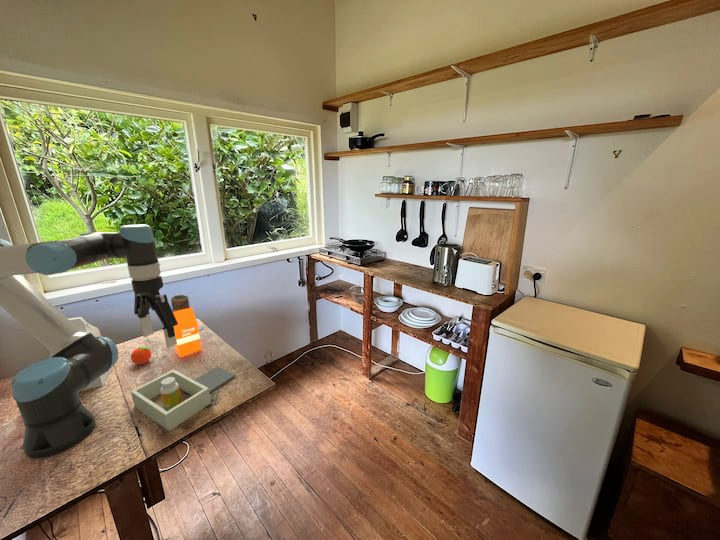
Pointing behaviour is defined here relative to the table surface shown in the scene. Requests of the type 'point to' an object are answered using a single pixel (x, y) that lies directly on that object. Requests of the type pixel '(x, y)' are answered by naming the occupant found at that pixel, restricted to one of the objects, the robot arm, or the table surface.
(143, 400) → the open box
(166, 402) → the supplement bottle
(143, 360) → the clementine
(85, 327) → the milk
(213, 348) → the table surface
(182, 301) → the brown rounded bar
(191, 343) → the orange juice
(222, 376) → the slate mat
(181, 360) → the table surface
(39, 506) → the table surface
